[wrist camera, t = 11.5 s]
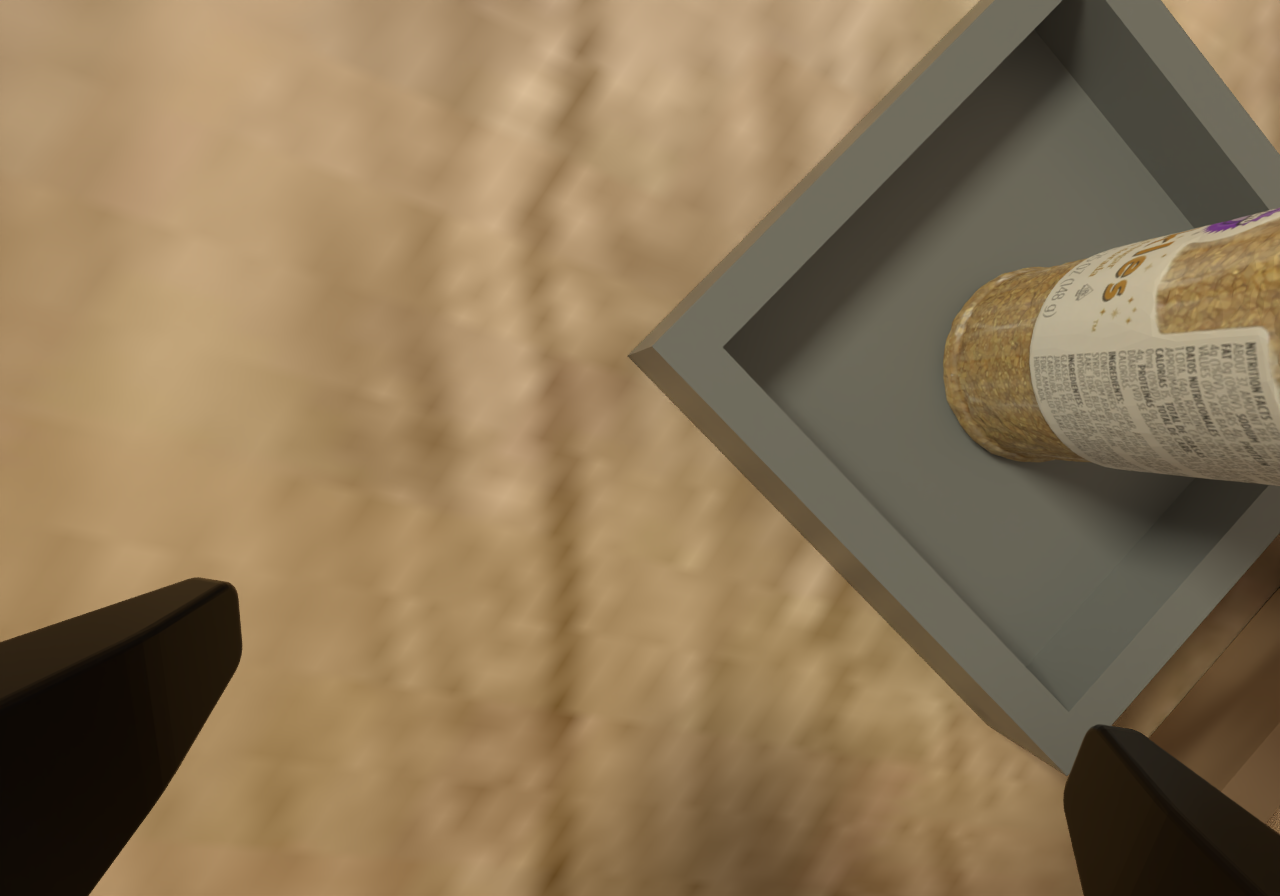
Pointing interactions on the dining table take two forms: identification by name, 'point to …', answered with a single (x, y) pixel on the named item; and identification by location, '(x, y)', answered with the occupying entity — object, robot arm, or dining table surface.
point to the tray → (915, 342)
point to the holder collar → (1235, 718)
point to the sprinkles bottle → (1131, 357)
